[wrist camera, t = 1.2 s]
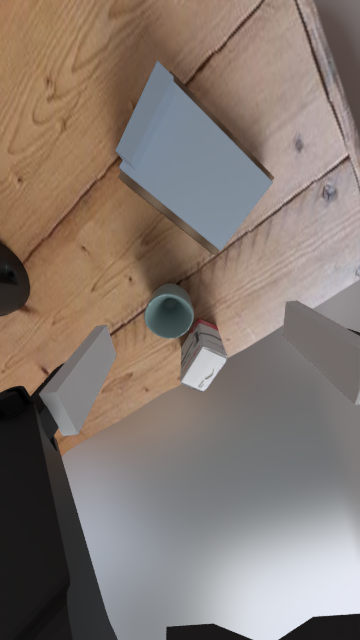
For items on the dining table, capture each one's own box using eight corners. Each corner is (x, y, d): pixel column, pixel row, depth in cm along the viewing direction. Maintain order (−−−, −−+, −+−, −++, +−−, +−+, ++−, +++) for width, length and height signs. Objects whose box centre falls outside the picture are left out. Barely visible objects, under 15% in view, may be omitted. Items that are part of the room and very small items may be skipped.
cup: (145, 303, 40) (135, 323, 31) (165, 271, 37) (160, 283, 28) (176, 322, 42) (176, 347, 33) (198, 292, 39) (203, 310, 30)
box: (125, 184, 32) (118, 177, 27) (171, 95, 27) (170, 70, 23) (211, 252, 36) (215, 255, 32) (262, 184, 32) (274, 177, 28)
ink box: (197, 316, 41) (203, 346, 30) (217, 325, 42) (230, 357, 31) (179, 347, 44) (179, 385, 33) (198, 355, 45) (204, 394, 34)
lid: (121, 170, 27) (111, 159, 23) (165, 80, 24) (162, 48, 20) (219, 250, 31) (225, 252, 27) (269, 184, 28) (284, 176, 24)
